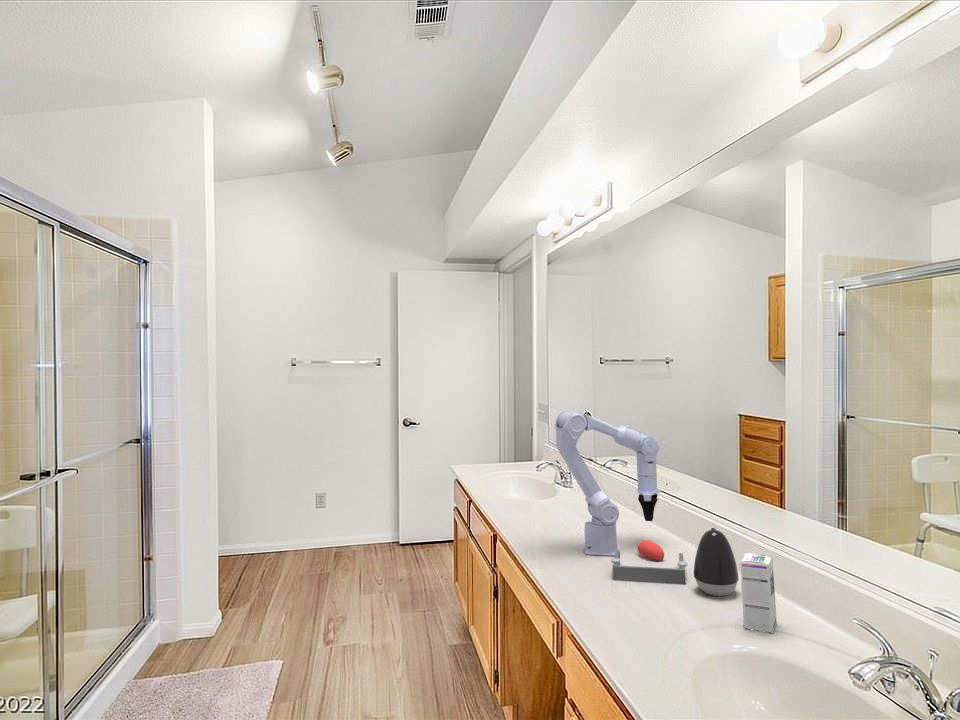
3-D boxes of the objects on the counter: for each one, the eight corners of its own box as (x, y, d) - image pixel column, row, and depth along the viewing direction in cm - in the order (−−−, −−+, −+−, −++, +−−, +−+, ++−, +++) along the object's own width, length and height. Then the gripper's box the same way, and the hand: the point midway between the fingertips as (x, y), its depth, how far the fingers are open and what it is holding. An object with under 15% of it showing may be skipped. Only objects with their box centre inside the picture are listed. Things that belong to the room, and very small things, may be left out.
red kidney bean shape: (644, 567, 170) (654, 549, 169) (630, 547, 178) (640, 530, 177) (659, 571, 172) (669, 553, 170) (644, 551, 180) (654, 534, 178)
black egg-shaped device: (737, 586, 150) (734, 525, 150) (741, 602, 140) (738, 536, 141) (694, 582, 154) (691, 523, 154) (694, 598, 144) (691, 534, 144)
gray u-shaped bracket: (610, 579, 158) (609, 564, 158) (614, 562, 171) (613, 547, 172) (688, 584, 153) (687, 568, 153) (685, 566, 166) (685, 551, 166)
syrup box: (773, 634, 124) (770, 563, 124) (742, 628, 127) (739, 559, 127) (776, 623, 129) (773, 555, 129) (746, 618, 132) (744, 551, 132)
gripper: (660, 479, 176) (662, 526, 176) (660, 470, 190) (662, 513, 190) (635, 479, 178) (637, 525, 178) (637, 470, 192) (639, 513, 192)
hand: (648, 519), depth 184 cm, fingers open, 3 cm apart
